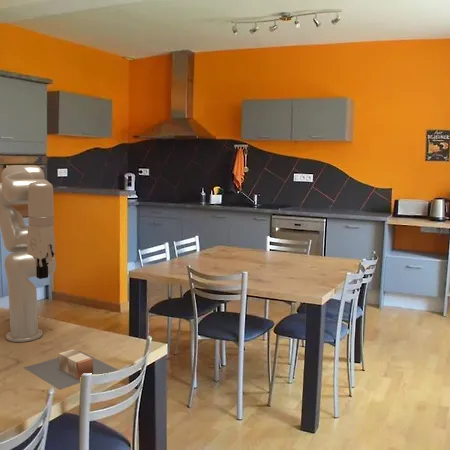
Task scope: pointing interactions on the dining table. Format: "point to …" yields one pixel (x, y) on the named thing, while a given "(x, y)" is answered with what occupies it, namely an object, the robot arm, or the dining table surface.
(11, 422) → the dining table surface
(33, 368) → the mat
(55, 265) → the robot arm
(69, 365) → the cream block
